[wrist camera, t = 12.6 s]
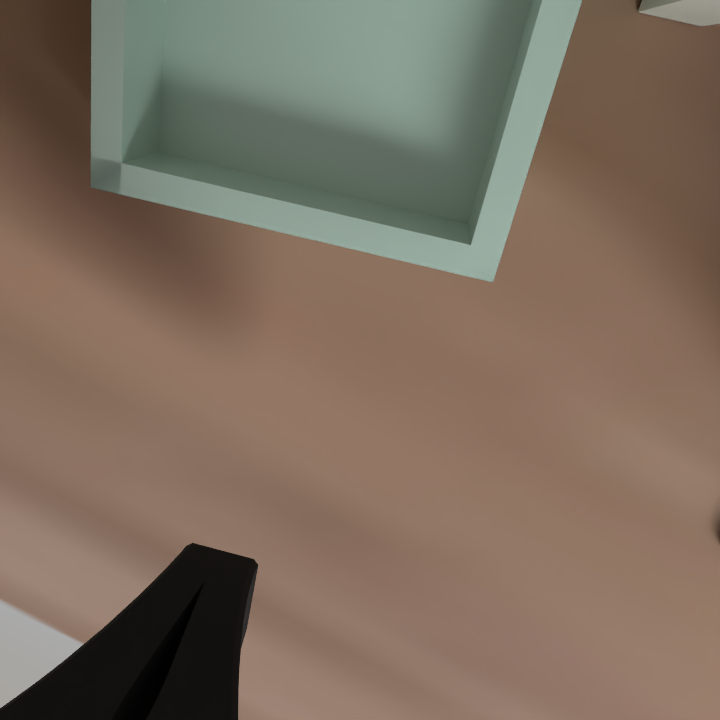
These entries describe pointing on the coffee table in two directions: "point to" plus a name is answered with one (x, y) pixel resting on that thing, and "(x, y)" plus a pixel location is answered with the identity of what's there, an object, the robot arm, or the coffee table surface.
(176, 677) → the robot arm
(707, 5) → the shelf
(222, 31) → the tray
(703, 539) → the coffee table surface
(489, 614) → the coffee table surface
